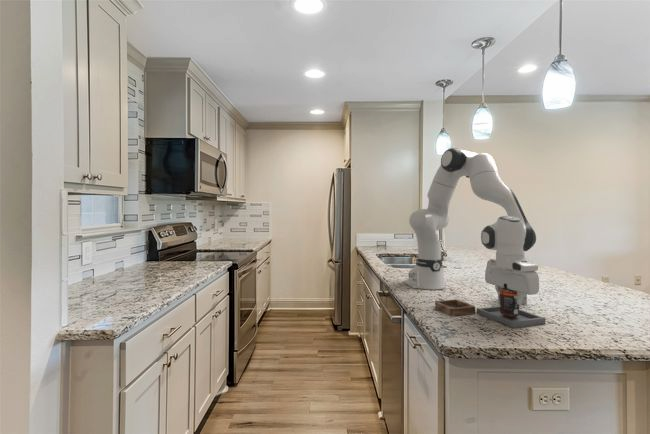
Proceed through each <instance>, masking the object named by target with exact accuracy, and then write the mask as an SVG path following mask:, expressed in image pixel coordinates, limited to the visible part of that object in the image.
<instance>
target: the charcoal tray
mask: <svg viewBox="0 0 650 434" xmlns="http://www.w3.org/2000/svg"><path fill="white" fill-rule="evenodd" d="M476 315H478V316H481V317H483V318H486V319H488V320H491V321H493V322H496V323H498V324H501V325H503V326H505V327H508V328H509V329H519V328H526V327H533V326H534V327H535V326H540V325H541V326H543V325H546V317H543V316H540V315H538V314H536V313H535V314H534V313H531V312H529V311H525V310H523V309H520V308H519V316H517V317H509V316H504V315H502V314H501V313H500V305H498V306H495V305H494V306H487V307H486V306H485V307H480V308H476Z"/></svg>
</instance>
